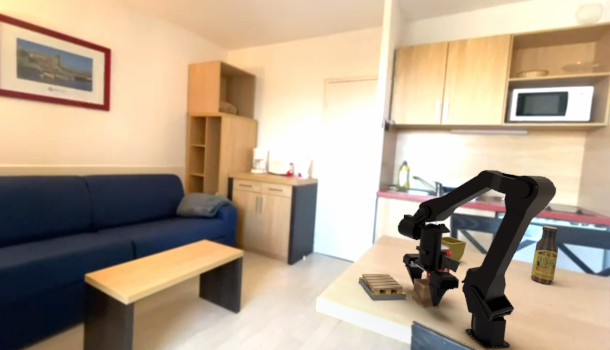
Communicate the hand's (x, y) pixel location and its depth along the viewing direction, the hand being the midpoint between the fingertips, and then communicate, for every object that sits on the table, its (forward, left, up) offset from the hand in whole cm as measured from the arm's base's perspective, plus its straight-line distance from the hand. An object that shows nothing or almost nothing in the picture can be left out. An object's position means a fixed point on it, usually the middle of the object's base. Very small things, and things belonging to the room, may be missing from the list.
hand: (425, 298), depth 83 cm
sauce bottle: (+12, -53, -1) cm, 54 cm away
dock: (+8, +10, -1) cm, 13 cm away
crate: (0, 0, -1) cm, 1 cm away
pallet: (+8, +10, 0) cm, 13 cm away
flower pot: (+32, -30, -2) cm, 44 cm away
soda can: (+14, -13, -2) cm, 19 cm away
